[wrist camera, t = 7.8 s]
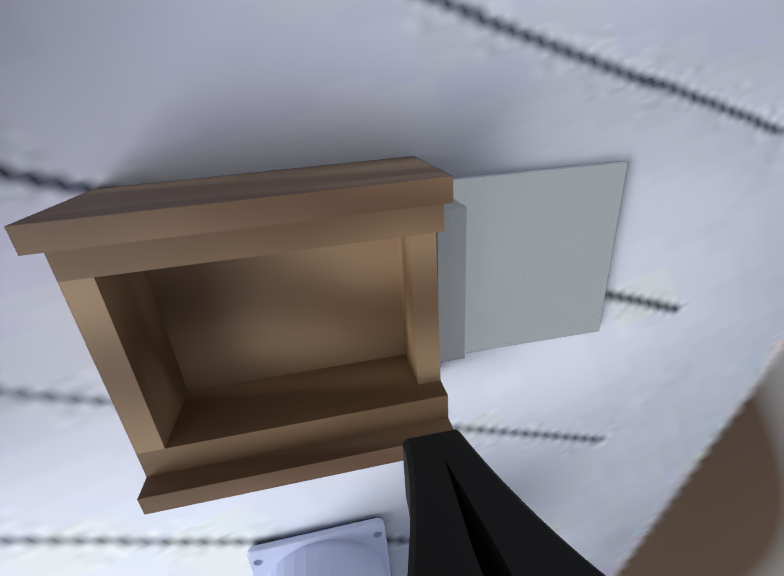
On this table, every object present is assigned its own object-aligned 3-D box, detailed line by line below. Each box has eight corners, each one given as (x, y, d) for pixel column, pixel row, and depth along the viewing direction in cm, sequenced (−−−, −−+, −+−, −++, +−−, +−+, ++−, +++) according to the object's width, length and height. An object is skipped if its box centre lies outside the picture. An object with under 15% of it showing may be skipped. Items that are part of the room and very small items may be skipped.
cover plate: (587, 322, 23) (618, 345, 20) (421, 348, 21) (435, 377, 19) (612, 160, 19) (653, 167, 17) (415, 179, 18) (431, 189, 15)
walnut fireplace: (424, 376, 21) (455, 449, 17) (180, 420, 20) (144, 514, 15) (413, 156, 17) (452, 176, 12) (93, 189, 15) (4, 226, 11)
